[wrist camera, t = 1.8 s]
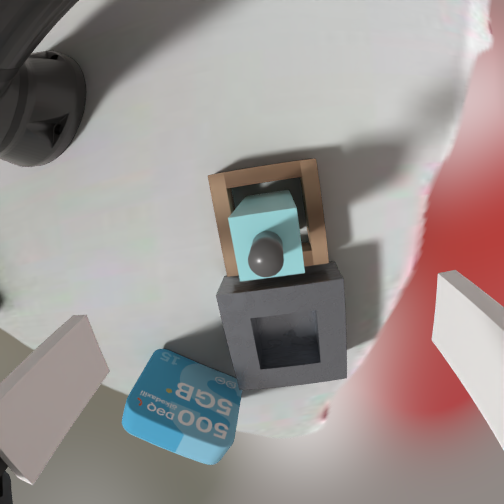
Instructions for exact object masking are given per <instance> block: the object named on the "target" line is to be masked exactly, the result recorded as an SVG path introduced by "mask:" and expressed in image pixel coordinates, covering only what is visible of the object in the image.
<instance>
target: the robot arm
mask: <svg viewBox="0 0 504 504" xmlns="http://www.w3.org/2000/svg"><path fill="white" fill-rule="evenodd" d="M78 1H79V0H0V159H2V160H5V161H7V162H10V163H12V164H15V165H18V166H22V167H32V166H40V165H44V164H47V163H49V162H51V161H53V160H54V159H56V158H57V157H58V156H59V155H60V154H61V153H62V152H63V151H64V150H65V149H66V148H67V146H68V145H69V144H70V142H71V141H72V139H73V137H74V135H75V133H76V131H77V129H78V127H79V124H80V121H81V118H82V115H83V111H84V106H85V96H86V89H85V80H84V76H83V73H82V71H81V68H80V67H79V65H78V64H77V63H76V61H75V60H73V59H72V58H71V57H69V56H66V55H64V54H61V53H58V52H54V51H43V52H36V53H32V52H33V51H34V49H35V48H36V47H37V46H38V44H39V43H40V42H41V41H42V40H43V38H44V37H45V36H46V35H47V34H48V33H49V31H50V30H51V29H52V28H53V27H54V26H55V25H56V23H57V22H58V21H59V20H60V19H61V18H62V17H63V16H64V15H65V14H66V13H67V12H68V11H69V10H70V9H71V8H72V7H73V6H74V5H75V4H76V3H77V2H78ZM432 341H433V342H434V344H435V345H436V347H437V348H438V349H439V351H440V352H441V353H442V355H443V356H444V358H445V359H446V360H447V362H448V363H449V365H450V366H451V368H452V369H453V371H454V372H455V373H456V375H457V376H458V378H459V379H460V381H461V382H462V384H463V385H464V387H465V388H466V390H467V391H468V393H469V394H470V396H471V397H472V399H473V401H474V402H475V404H476V405H477V407H478V408H479V410H480V412H481V413H482V415H483V416H484V418H485V420H486V421H487V423H488V425H489V426H490V428H491V429H492V431H493V433H494V435H495V436H496V438H497V440H498V442H499V443H500V445H501V447H502V449H503V450H504V307H503V306H501V305H500V304H499V303H498V302H496V301H495V300H494V299H492V298H491V297H490V296H489V295H488V294H486V293H485V292H484V291H483V290H481V289H480V288H479V287H477V286H476V285H475V284H473V283H472V282H471V281H469V280H468V279H467V278H465V277H464V276H463V275H461V274H460V273H459V272H457V271H456V270H453V271H448V272H442V273H438V283H437V297H436V308H435V318H434V326H433V334H432ZM109 372H110V370H109V368H108V366H107V363H106V361H105V359H104V357H103V354H102V352H101V350H100V347H99V345H98V342H97V340H96V338H95V335H94V333H93V330H92V327H91V325H90V322H89V320H88V317H87V315H73V316H72V317H71V318H70V319H69V320H67V321H66V322H65V323H64V324H63V325H62V326H61V327H60V328H58V329H57V330H56V331H55V332H54V333H53V334H52V335H51V336H49V337H48V338H47V339H46V340H45V341H44V342H43V343H42V344H41V345H40V346H39V347H37V348H36V349H35V350H34V351H33V352H32V353H31V354H30V355H29V356H28V357H27V358H26V359H25V360H24V361H23V362H21V364H19V365H18V366H17V367H16V368H15V369H14V370H13V371H12V372H11V373H10V374H9V375H8V376H7V377H6V378H5V379H4V380H3V381H2V382H1V383H0V504H13V503H12V492H11V479H10V476H9V474H8V473H7V472H6V471H5V470H6V469H7V467H9V468H10V469H11V470H12V471H13V472H14V474H15V475H16V476H17V477H18V478H19V479H21V480H23V481H25V482H28V483H29V484H32V485H34V483H35V481H36V480H37V478H38V477H39V475H40V473H41V472H42V470H43V469H44V467H45V466H46V464H47V463H48V461H49V459H50V457H51V456H52V455H53V453H54V452H55V450H56V449H57V447H58V446H59V444H60V443H61V441H62V440H63V438H64V437H65V435H66V434H67V432H68V431H69V429H70V428H71V426H72V425H73V423H74V422H75V420H76V419H77V417H78V416H79V414H80V413H81V412H82V410H83V409H84V407H85V406H86V404H87V403H88V401H89V400H90V399H91V397H92V396H93V394H94V393H95V391H96V390H97V389H98V387H99V386H100V384H101V383H102V382H103V380H104V379H105V377H106V376H107V375H108V373H109Z"/></svg>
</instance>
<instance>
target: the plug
mask: <svg viewBox="0 0 504 504" xmlns="http://www.w3.org/2000/svg"><path fill="white" fill-rule="evenodd" d="M228 221H229V226H230V231H231V237H232V242H233V247H234V252H235V258H236V263H237V268H238V273H239V278H240V281H248V280H256V279H264V278H271V277H279V276H286V275H294V274H301V273H305V269H304V261H303V253H302V245H301V237H300V230H299V222H298V215H297V208H296V205H295V203H294V201H293V198H292V196H291V194H290V191H289V190H283V191H276V192H270V193H263V194H257V195H250V196H246V197H245V198H244V199H243V200H242V201H241V203H240V204H239V205H238V206H237V208H236V209H235V210H234V211H233V213H232V214H231V215H230V216H229V217H228Z"/></svg>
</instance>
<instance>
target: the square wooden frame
mask: <svg viewBox="0 0 504 504" xmlns="http://www.w3.org/2000/svg"><path fill="white" fill-rule="evenodd" d="M298 177H300V180H301V187H302V194H303V201H304V208H305V215H306V223H307V231H308V239H309V242H307V243H301V245H302V253H303V261H304V267H305V266H312V265H319V264H326V263H329V259H328V249H327V240H326V230H325V222H324V213H323V205H322V197H321V190H320V183H319V176H318V169H317V162H316V159H306V160H298V161H291V162H284V163H277V164H270V165H264V166H257V167H251V168H245V169H239V170H233V171H228V172H222V173H217V174H212V175H208V180H209V185H210V191H211V196H212V201H213V207H214V212H215V217H216V222H217V227H218V233H219V238H220V243H221V248H222V253H223V258H224V263H225V268H226V272H227V277H230V276H238V275H239V273H238V268H237V263H236V258H235V252H234V247H233V242H232V237H231V231H230V226H229V221H228V217H229V216H230V215H231V214H232V213H233V211H234V210H235V206H234V200H233V195H232V189H231V188H233V187H239V186H245V185H251V184H257V183H263V182H270V181H277V180H283V179H290V178H298Z"/></svg>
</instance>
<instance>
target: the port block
mask: <svg viewBox="0 0 504 504" xmlns="http://www.w3.org/2000/svg"><path fill="white" fill-rule="evenodd" d="M304 269H305V273H301V274H294V275H286V276H279V277H271V278H264V279H256V280H248V281H240V278H239V275H238V276H230V277H227V276H224V278H223V281H222V283H221V285H220V288H219V290H218V292H217V295H216V297H217V302H218V306H219V310H220V315H221V319H222V323H223V327H224V331H225V335H226V339H227V344H228V348H229V352H230V356H231V360H232V363H233V367H234V371H235V375H236V379H237V383H238V387H239V390H251V389H264V388H275V387H285V386H294V385H303V384H311V383H318V382H325V381H332V380H338V379H344V378H347V346H346V314H345V294H344V279H343V277H342V275H341V273H340V271H339V269H338V267H337V265H336V264H335V262H329V263H326V264H319V265H312V266H305V267H304Z"/></svg>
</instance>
